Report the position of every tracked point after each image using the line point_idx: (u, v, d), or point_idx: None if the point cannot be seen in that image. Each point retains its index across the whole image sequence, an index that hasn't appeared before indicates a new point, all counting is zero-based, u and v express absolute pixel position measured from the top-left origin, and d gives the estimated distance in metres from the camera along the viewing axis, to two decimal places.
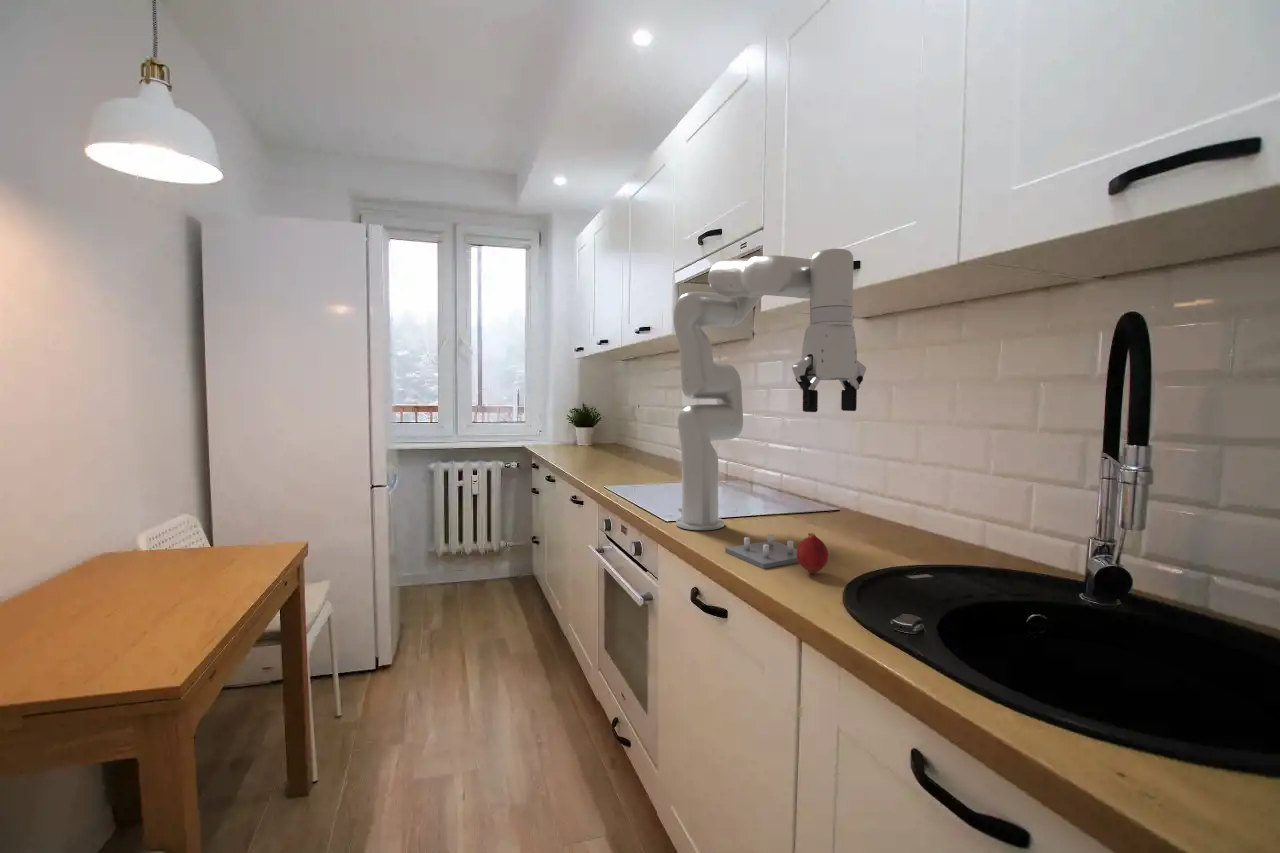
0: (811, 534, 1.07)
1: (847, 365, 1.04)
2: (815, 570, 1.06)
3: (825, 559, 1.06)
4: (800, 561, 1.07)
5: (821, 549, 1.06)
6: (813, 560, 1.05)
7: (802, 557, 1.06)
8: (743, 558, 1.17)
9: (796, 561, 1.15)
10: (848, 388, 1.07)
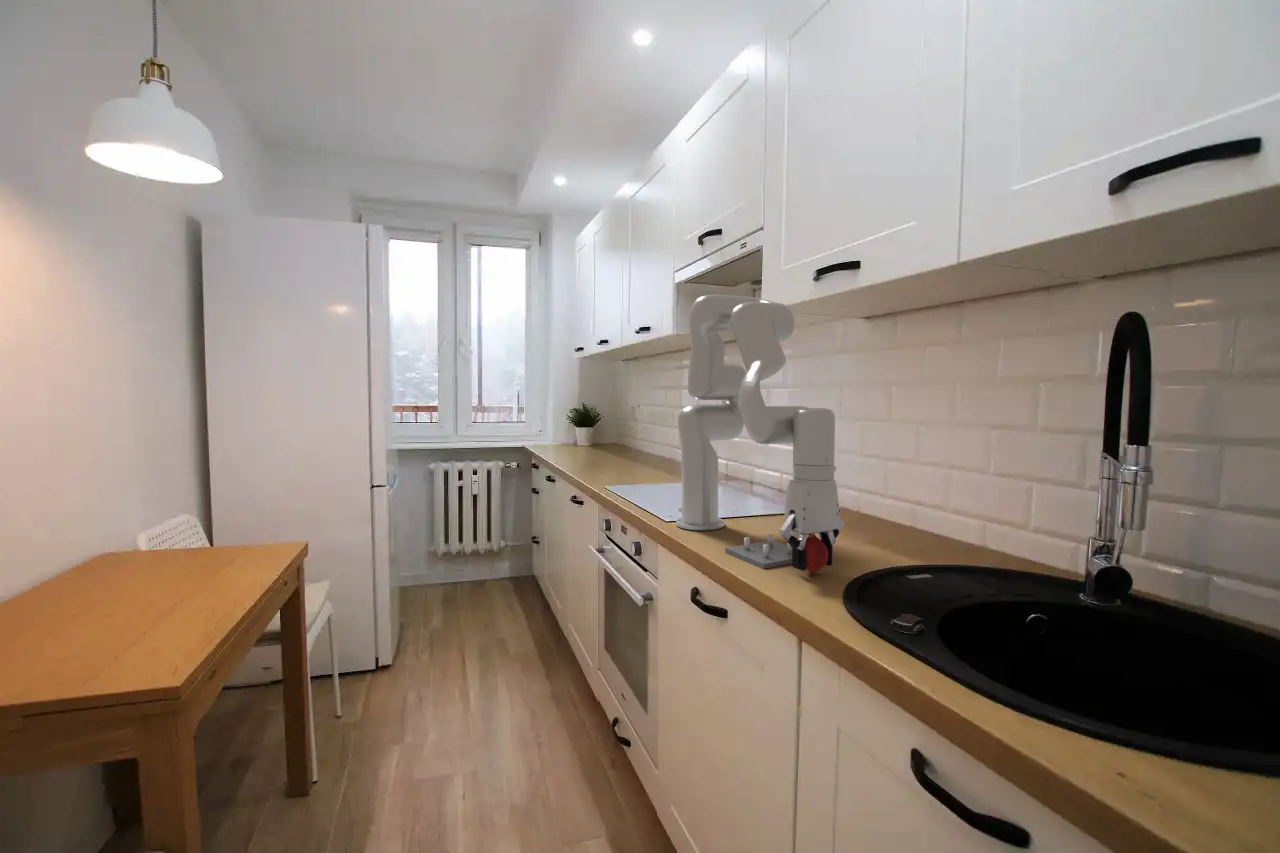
0: (811, 534, 1.07)
1: (829, 519, 1.06)
2: (815, 570, 1.06)
3: (825, 559, 1.06)
4: None
5: (821, 549, 1.06)
6: (813, 560, 1.05)
7: None
8: (743, 558, 1.17)
9: None
10: (824, 540, 1.09)
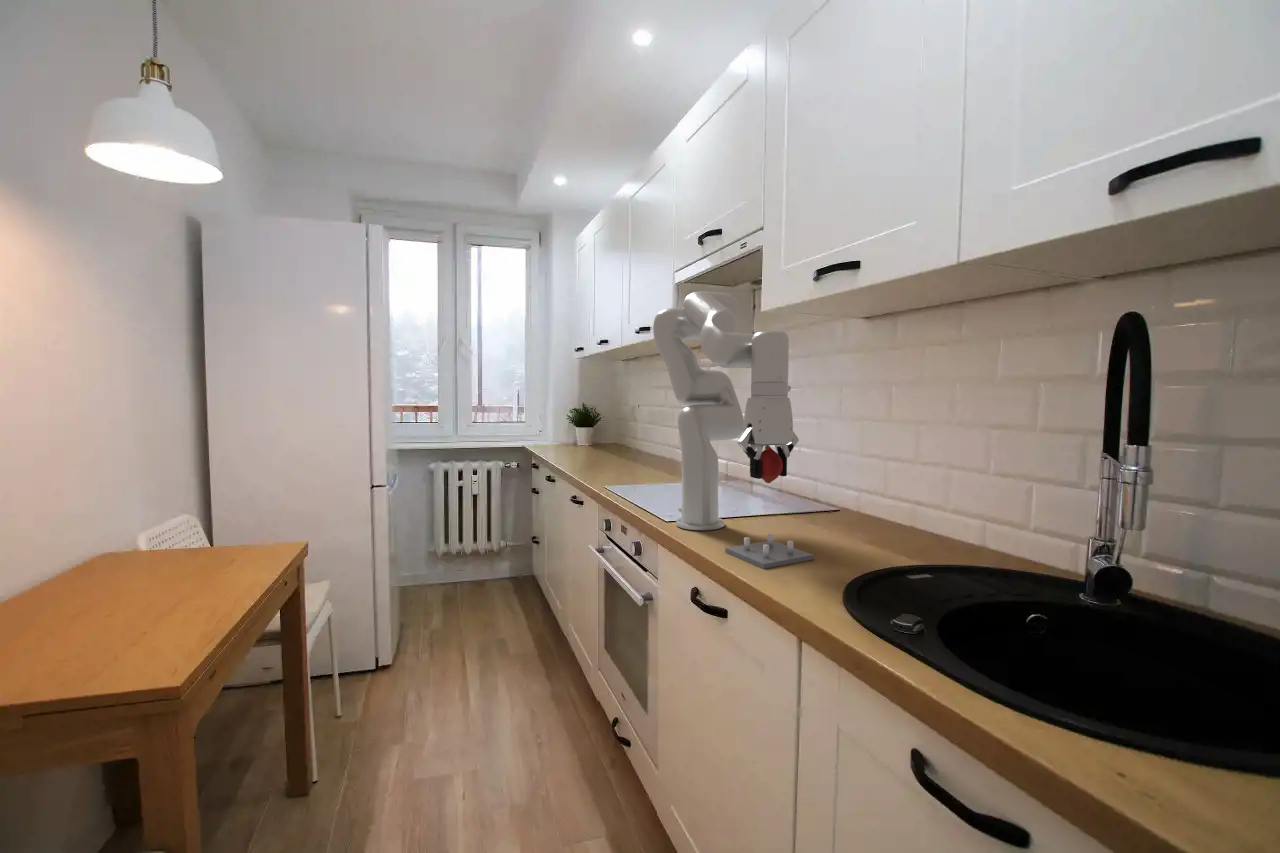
0: (767, 447, 1.18)
1: (783, 432, 1.17)
2: (770, 479, 1.17)
3: (779, 468, 1.16)
4: None
5: (776, 459, 1.16)
6: (768, 469, 1.16)
7: None
8: (743, 558, 1.17)
9: (796, 561, 1.15)
10: (780, 454, 1.20)
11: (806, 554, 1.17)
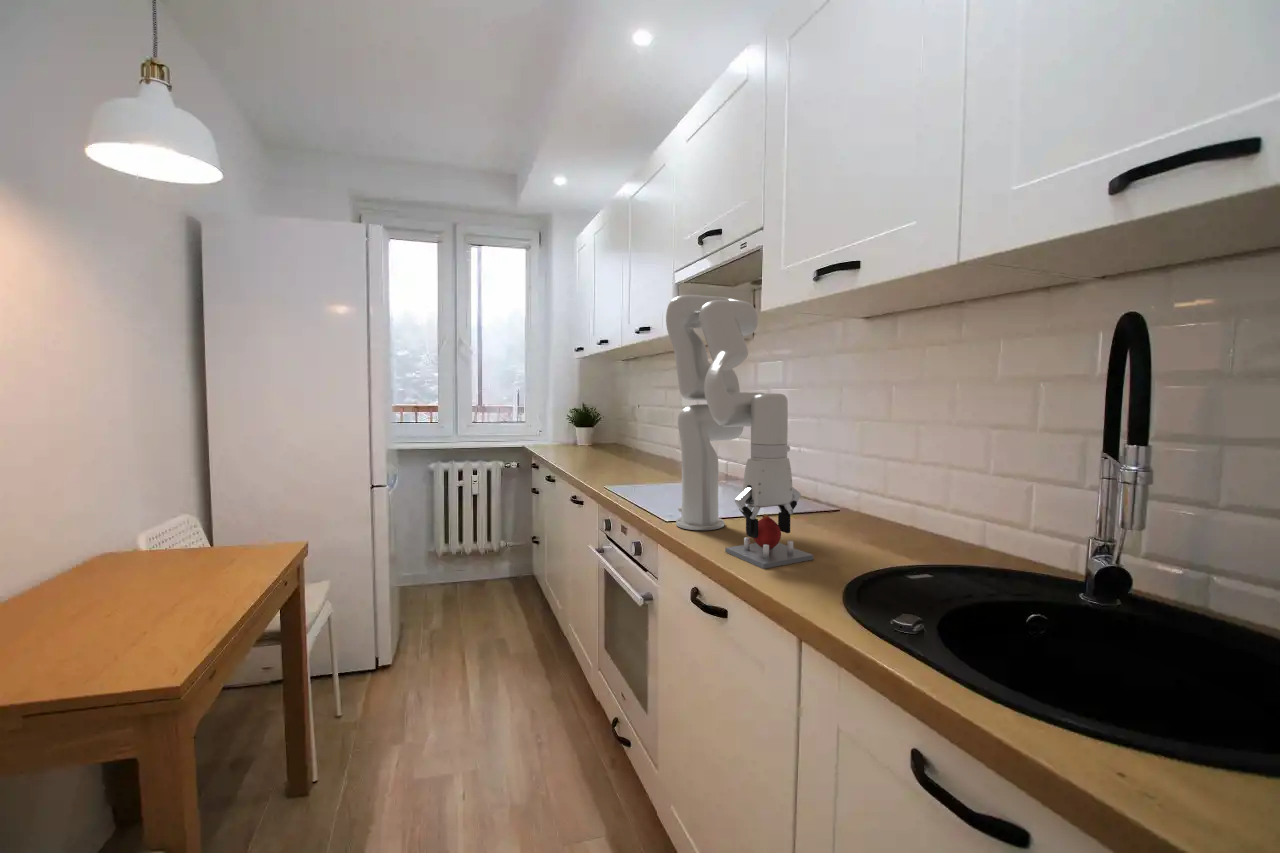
0: (765, 515, 1.19)
1: (783, 493, 1.18)
2: (769, 548, 1.18)
3: (778, 537, 1.17)
4: (756, 540, 1.19)
5: (774, 528, 1.17)
6: (766, 539, 1.17)
7: None
8: (743, 558, 1.17)
9: (796, 561, 1.15)
10: (783, 512, 1.21)
11: (806, 554, 1.17)
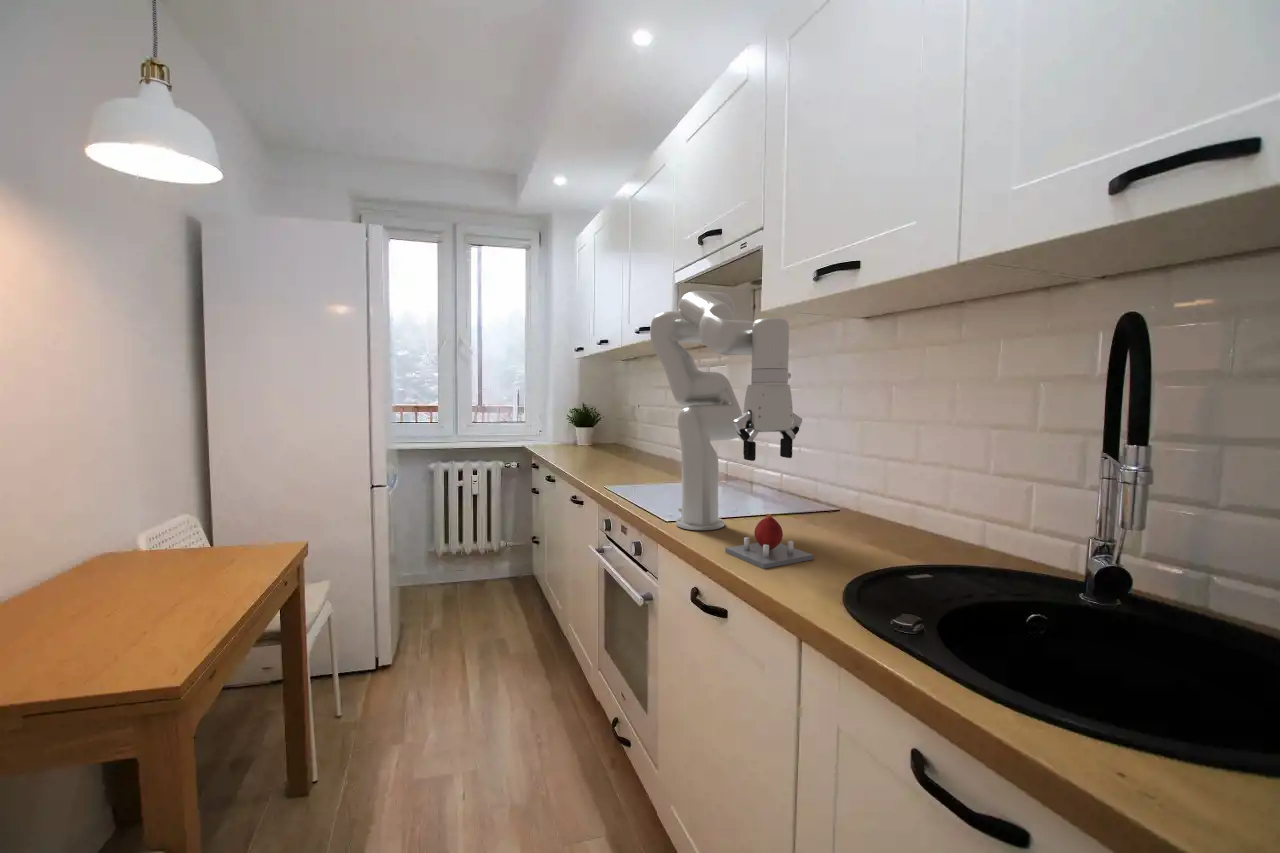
0: (768, 515, 1.19)
1: (783, 419, 1.18)
2: (769, 548, 1.18)
3: (779, 538, 1.17)
4: (757, 539, 1.19)
5: (776, 529, 1.17)
6: (767, 538, 1.17)
7: (758, 535, 1.18)
8: (743, 558, 1.17)
9: (796, 561, 1.15)
10: (785, 437, 1.21)
11: (806, 554, 1.17)
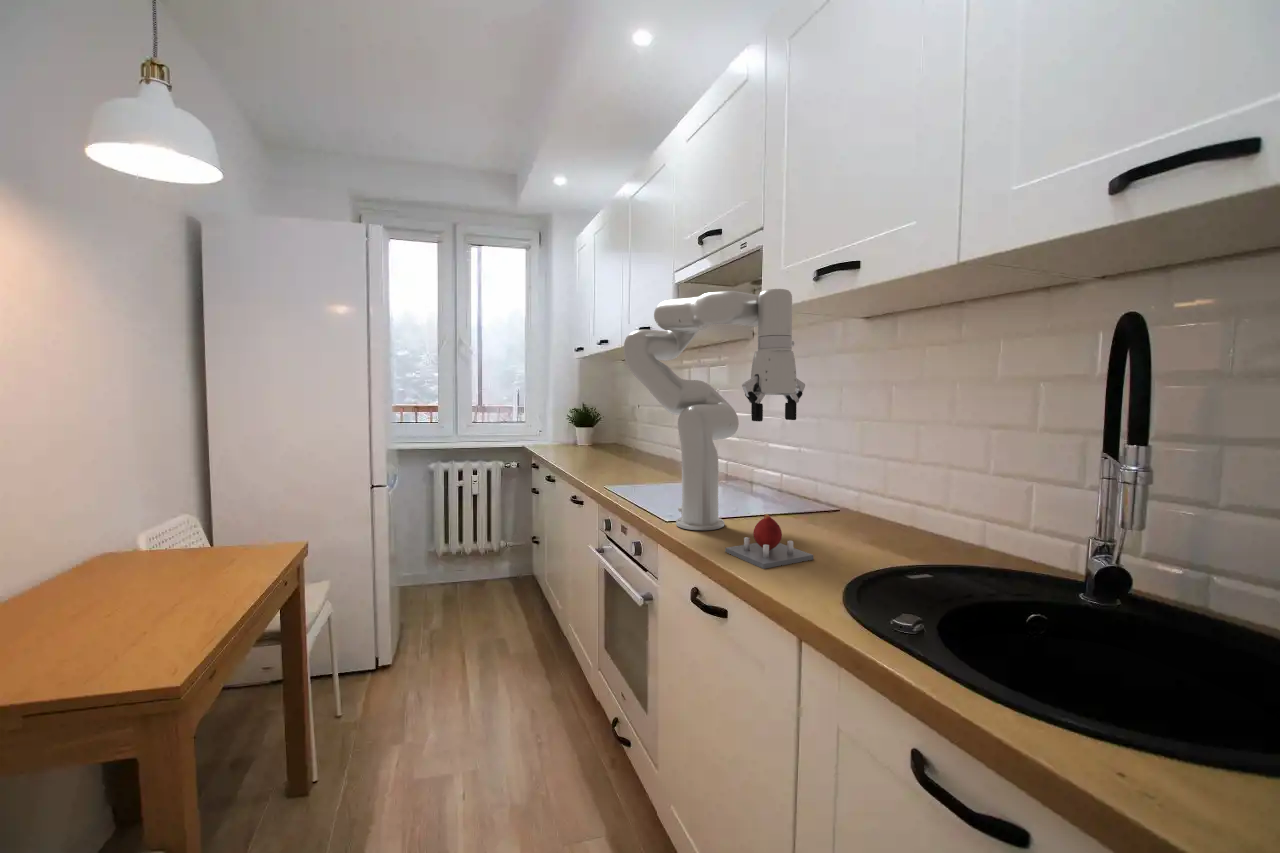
0: (766, 515, 1.19)
1: (787, 383, 1.27)
2: (769, 548, 1.18)
3: (778, 538, 1.17)
4: (756, 540, 1.19)
5: (774, 529, 1.17)
6: (766, 539, 1.17)
7: (757, 536, 1.18)
8: (743, 558, 1.17)
9: (796, 561, 1.15)
10: (790, 401, 1.30)
11: (806, 554, 1.17)
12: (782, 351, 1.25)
